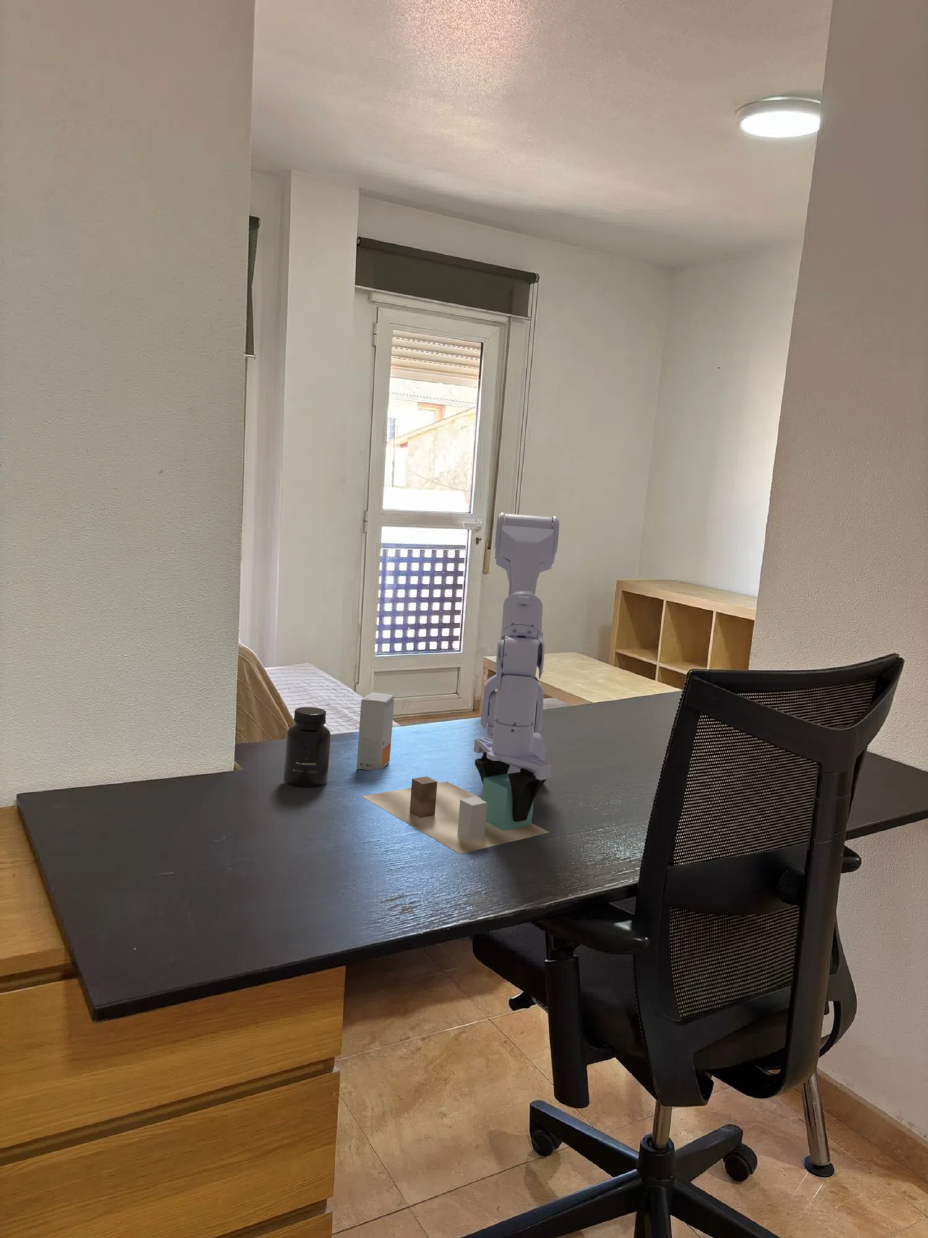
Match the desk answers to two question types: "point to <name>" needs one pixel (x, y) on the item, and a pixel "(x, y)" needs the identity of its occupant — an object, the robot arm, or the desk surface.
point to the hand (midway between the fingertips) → (506, 813)
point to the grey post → (472, 818)
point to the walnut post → (423, 797)
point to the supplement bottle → (307, 749)
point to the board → (448, 819)
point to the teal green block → (501, 803)
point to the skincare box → (375, 731)
